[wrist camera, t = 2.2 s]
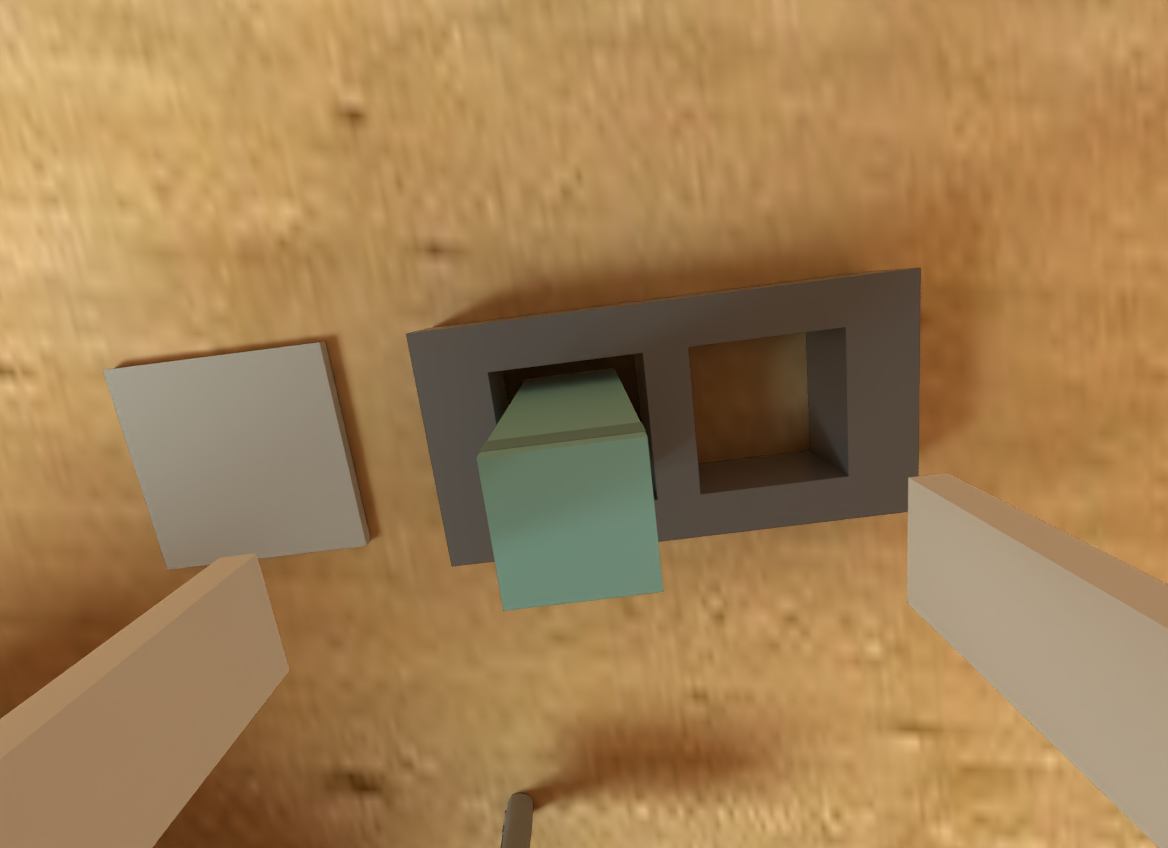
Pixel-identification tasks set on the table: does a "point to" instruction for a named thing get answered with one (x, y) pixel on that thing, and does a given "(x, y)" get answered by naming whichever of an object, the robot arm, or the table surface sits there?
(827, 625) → the table surface
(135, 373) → the mat
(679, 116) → the table surface
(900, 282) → the cinder block
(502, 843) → the mechanical component
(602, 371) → the plug
